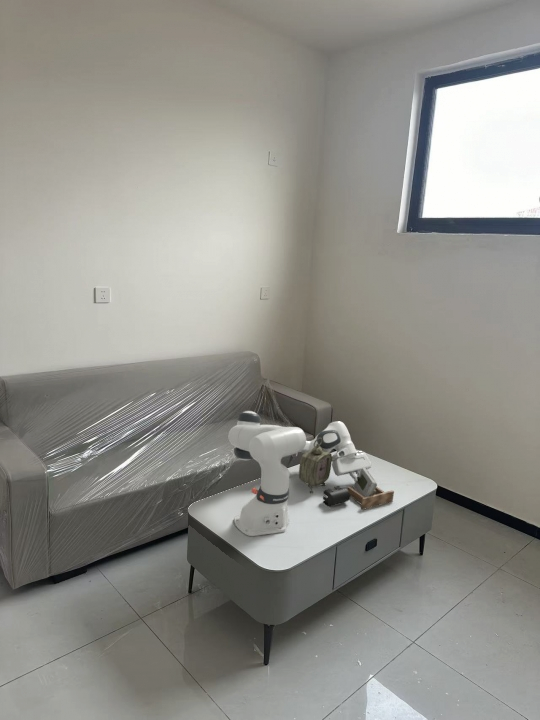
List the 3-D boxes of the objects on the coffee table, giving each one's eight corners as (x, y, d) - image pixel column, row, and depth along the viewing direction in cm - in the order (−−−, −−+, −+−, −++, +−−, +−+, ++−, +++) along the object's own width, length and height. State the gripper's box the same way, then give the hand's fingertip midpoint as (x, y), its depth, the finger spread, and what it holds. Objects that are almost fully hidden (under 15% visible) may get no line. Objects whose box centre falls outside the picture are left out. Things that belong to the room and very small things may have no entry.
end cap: (332, 510, 216) (333, 496, 214) (321, 502, 221) (323, 488, 220) (349, 505, 221) (351, 491, 220) (338, 497, 227) (340, 484, 225)
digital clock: (352, 486, 238) (355, 466, 236) (371, 488, 238) (374, 467, 236) (356, 504, 223) (359, 482, 220) (376, 505, 222) (379, 484, 220)
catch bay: (362, 509, 218) (363, 499, 217) (342, 494, 230) (343, 484, 228) (392, 501, 227) (394, 491, 226) (372, 487, 239) (373, 477, 238)
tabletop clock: (312, 496, 226) (317, 445, 220) (295, 489, 231) (300, 439, 225) (328, 485, 237) (334, 436, 231) (312, 479, 242) (317, 431, 236)
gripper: (360, 452, 247) (371, 479, 241) (327, 459, 236) (337, 487, 231) (367, 447, 242) (378, 474, 236) (334, 454, 232) (345, 482, 226)
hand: (358, 481), depth 233 cm, fingers closed, pressing on digital clock
